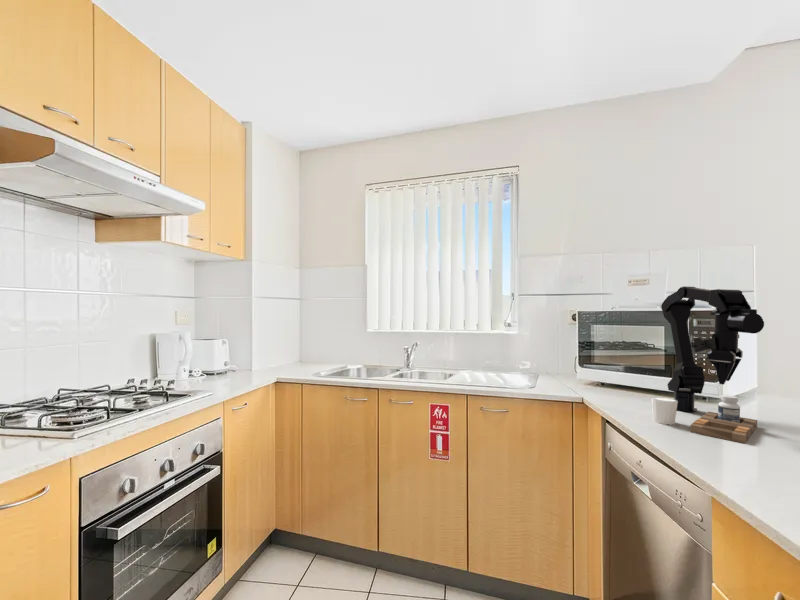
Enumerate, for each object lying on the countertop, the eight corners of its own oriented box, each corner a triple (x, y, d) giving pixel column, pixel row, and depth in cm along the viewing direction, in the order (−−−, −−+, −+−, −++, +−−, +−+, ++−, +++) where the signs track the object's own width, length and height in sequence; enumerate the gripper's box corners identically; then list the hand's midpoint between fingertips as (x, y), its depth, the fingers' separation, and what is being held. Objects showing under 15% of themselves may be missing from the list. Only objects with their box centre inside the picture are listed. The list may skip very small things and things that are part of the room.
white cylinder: (651, 422, 127) (652, 399, 127) (650, 417, 133) (650, 395, 133) (678, 426, 124) (679, 402, 124) (675, 421, 130) (676, 398, 130)
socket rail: (708, 417, 135) (708, 410, 135) (757, 426, 126) (757, 419, 126) (690, 431, 119) (690, 423, 119) (744, 443, 110) (745, 434, 110)
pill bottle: (718, 422, 130) (718, 393, 130) (739, 425, 127) (740, 396, 127) (717, 425, 126) (718, 396, 126) (739, 429, 123) (740, 399, 123)
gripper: (700, 328, 139) (698, 375, 139) (687, 329, 126) (685, 381, 126) (743, 330, 131) (741, 380, 131) (734, 332, 118) (732, 388, 118)
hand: (724, 382), depth 127 cm, fingers open, 9 cm apart
